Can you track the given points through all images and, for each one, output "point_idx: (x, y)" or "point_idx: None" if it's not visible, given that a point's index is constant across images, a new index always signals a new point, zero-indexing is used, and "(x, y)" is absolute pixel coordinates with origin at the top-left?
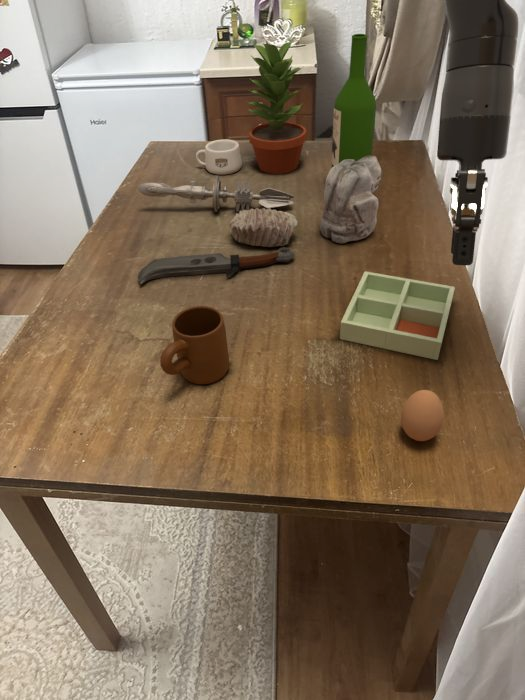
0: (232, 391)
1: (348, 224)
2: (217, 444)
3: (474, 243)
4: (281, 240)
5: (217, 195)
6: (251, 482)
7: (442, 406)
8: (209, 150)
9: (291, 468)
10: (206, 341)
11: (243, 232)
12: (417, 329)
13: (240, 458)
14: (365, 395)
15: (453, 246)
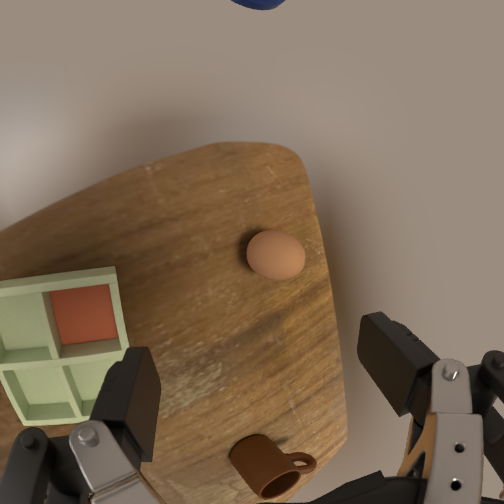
0: (264, 419)
1: None
2: (313, 388)
3: (411, 342)
4: (44, 502)
5: None
6: (334, 348)
7: (281, 237)
8: None
9: (319, 333)
10: (293, 465)
11: None
12: (69, 314)
13: (320, 368)
14: (220, 325)
15: (157, 400)
